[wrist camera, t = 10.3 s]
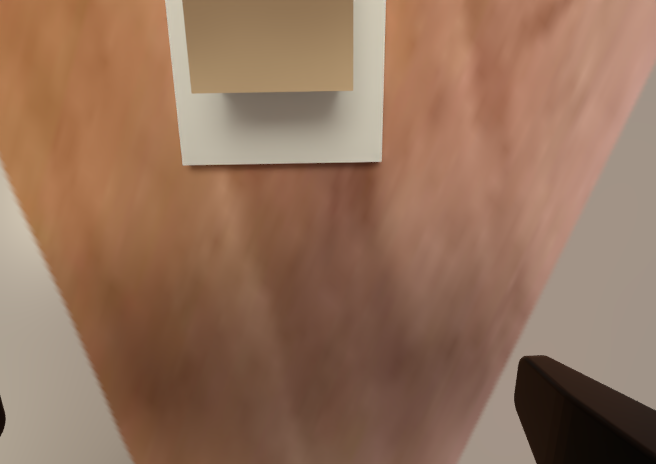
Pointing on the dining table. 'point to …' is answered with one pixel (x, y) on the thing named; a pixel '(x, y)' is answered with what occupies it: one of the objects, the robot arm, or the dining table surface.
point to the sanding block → (269, 45)
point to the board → (285, 108)
